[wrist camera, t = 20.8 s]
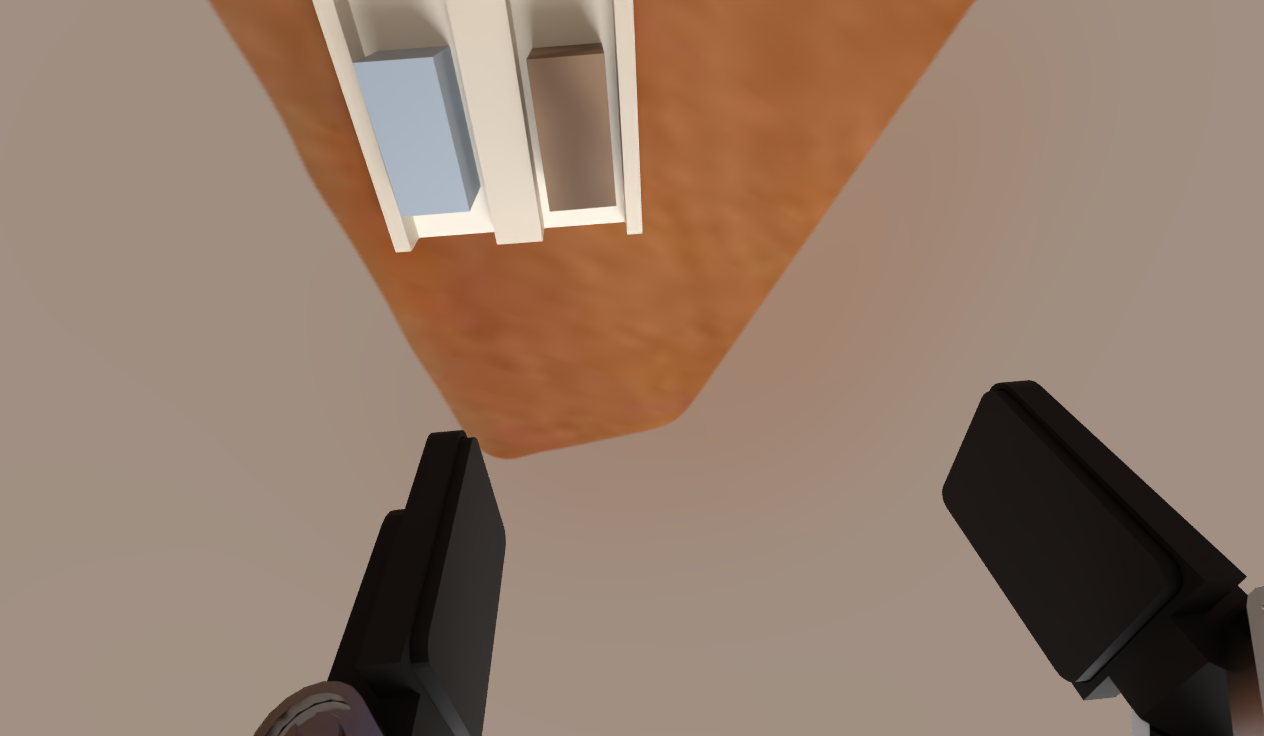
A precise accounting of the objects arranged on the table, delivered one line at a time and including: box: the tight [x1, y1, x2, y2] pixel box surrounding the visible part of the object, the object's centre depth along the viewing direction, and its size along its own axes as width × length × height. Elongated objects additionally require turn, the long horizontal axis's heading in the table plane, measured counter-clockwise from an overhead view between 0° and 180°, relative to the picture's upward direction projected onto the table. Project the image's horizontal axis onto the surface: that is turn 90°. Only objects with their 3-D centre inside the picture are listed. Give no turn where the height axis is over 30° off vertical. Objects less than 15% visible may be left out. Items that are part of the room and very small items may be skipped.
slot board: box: [312, 0, 642, 252], centre depth 33 cm, size 16×14×3 cm
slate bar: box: [353, 46, 481, 217], centre depth 32 cm, size 4×8×4 cm, turn 3°
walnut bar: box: [526, 43, 616, 212], centre depth 32 cm, size 4×8×4 cm, turn 4°
